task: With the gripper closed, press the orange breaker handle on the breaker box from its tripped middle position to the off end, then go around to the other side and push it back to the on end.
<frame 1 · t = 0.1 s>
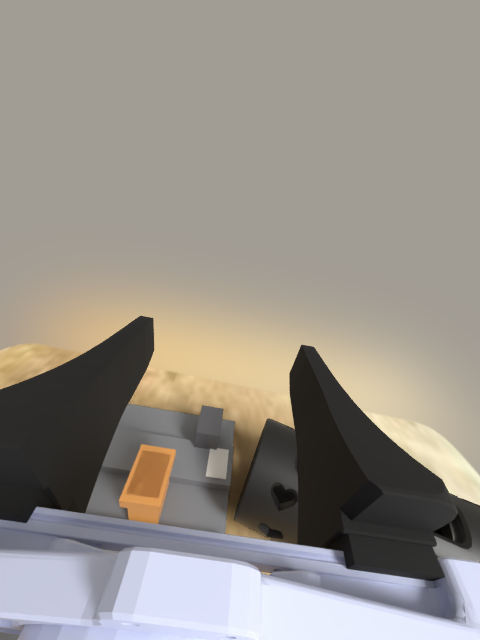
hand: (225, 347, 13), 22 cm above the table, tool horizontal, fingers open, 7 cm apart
breaker box: (150, 513, 25), on the table
breaker handle: (150, 488, 22), point 5 cm above the table, slide at 0.0 cm
muzzle brake: (376, 560, 25), on the table
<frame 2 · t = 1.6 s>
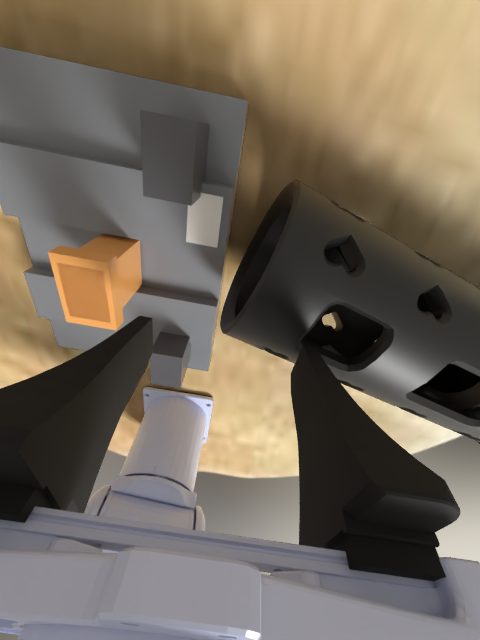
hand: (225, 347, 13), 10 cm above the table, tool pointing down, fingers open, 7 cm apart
breaker box: (136, 249, 20), on the table
breaker handle: (107, 275, 16), point 5 cm above the table, slide at 0.0 cm
muzzle brake: (398, 305, 22), on the table, touching gripper
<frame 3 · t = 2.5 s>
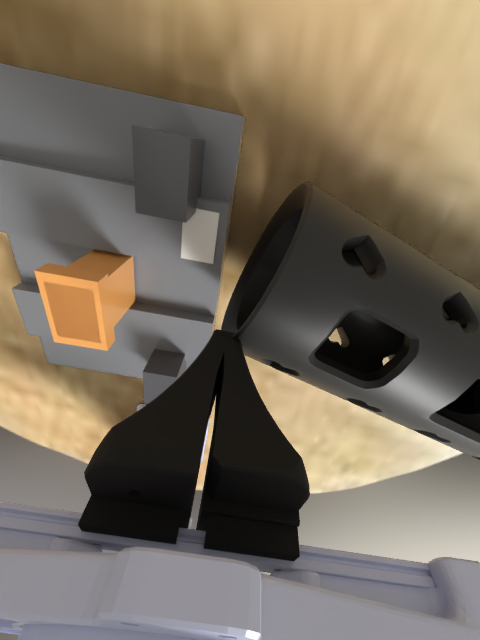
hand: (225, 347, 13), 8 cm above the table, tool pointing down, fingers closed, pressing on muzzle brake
breaker box: (129, 263, 20), on the table
breaker handle: (98, 292, 16), point 5 cm above the table, slide at 0.0 cm
muzzle brake: (404, 322, 22), on the table, touching gripper
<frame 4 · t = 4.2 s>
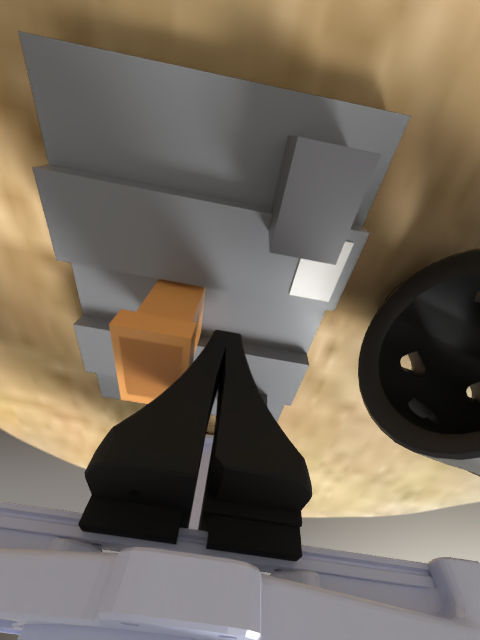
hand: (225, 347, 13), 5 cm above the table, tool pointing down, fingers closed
breaker box: (205, 291, 17), on the table
breaker handle: (169, 334, 13), point 5 cm above the table, slide at 0.9 cm, touching gripper
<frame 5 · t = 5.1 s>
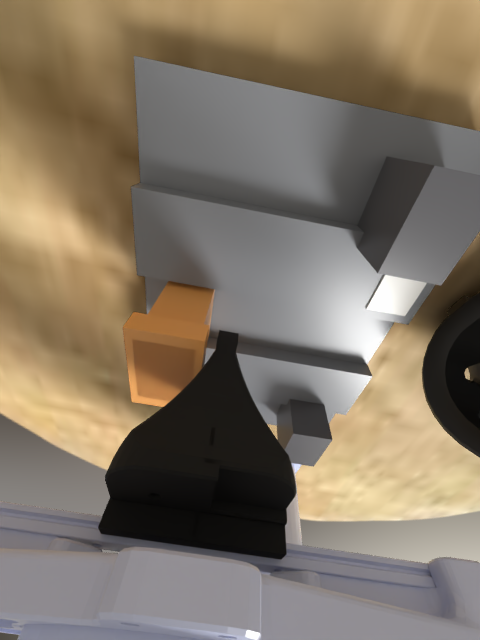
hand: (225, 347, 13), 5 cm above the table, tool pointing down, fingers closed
breaker box: (266, 302, 17), on the table
breaker handle: (179, 336, 13), point 5 cm above the table, slide at 4.4 cm, touching gripper
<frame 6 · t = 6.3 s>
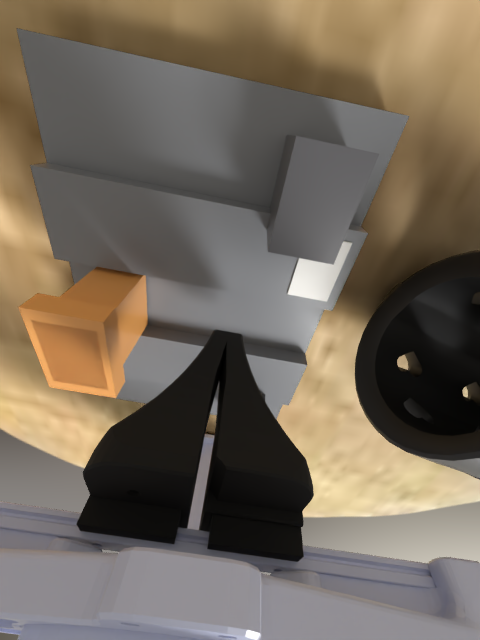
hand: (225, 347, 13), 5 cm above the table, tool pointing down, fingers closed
breaker box: (203, 290, 17), on the table
breaker handle: (103, 322, 13), point 5 cm above the table, slide at 4.1 cm
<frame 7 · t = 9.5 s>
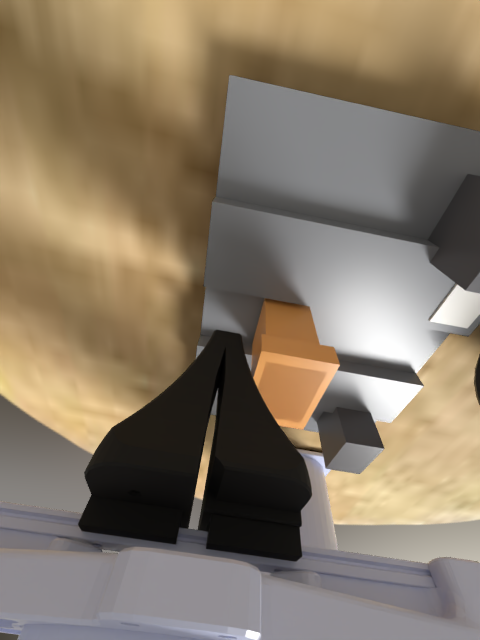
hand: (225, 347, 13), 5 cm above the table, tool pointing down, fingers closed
breaker box: (315, 311, 17), on the table
breaker handle: (281, 354, 13), point 5 cm above the table, slide at 2.6 cm, touching gripper
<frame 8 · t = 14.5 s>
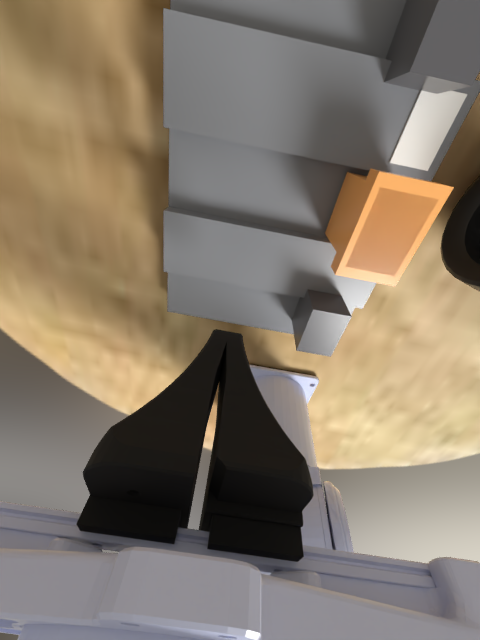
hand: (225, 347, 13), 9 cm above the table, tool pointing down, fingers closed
breaker box: (285, 188, 17), on the table
breaker handle: (369, 220, 13), point 5 cm above the table, slide at -4.1 cm
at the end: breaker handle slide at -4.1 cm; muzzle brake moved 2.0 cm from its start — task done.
